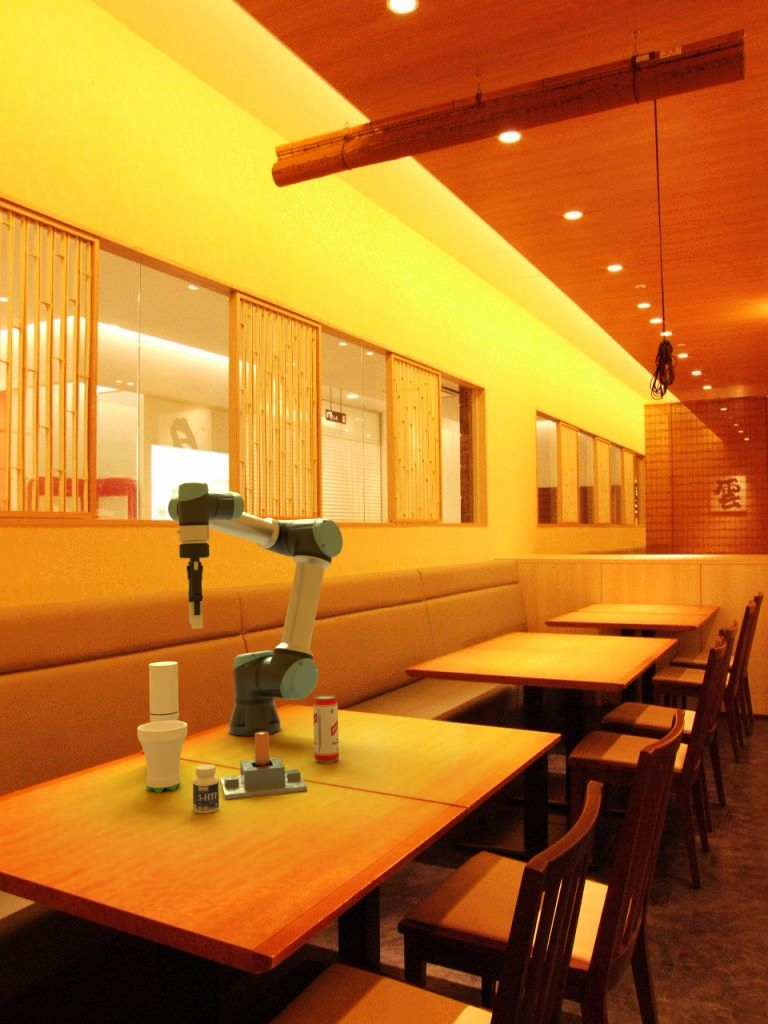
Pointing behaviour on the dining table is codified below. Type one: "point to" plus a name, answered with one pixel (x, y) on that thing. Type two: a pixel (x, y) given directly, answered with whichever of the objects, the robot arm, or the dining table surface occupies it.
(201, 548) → the robot arm
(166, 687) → the cylindrical container
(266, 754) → the rounded pin
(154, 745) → the cup
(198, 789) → the pill bottle
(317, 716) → the beer can
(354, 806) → the dining table surface
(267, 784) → the grey socket base
